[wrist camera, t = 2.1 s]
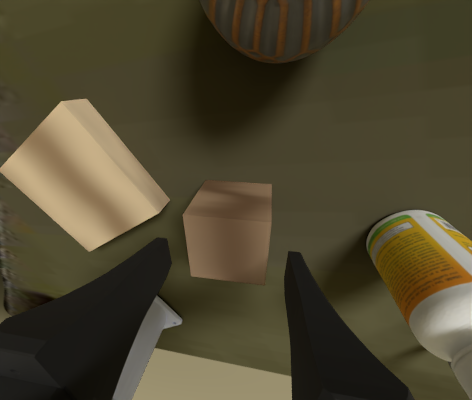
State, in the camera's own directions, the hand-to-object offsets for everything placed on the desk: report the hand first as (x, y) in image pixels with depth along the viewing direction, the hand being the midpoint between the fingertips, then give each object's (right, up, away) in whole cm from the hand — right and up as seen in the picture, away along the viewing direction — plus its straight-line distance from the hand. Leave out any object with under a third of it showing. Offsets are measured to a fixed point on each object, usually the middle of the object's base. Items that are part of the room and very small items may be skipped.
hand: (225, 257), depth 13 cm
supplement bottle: (+13, +1, +4) cm, 14 cm away
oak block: (-11, +5, +6) cm, 13 cm away
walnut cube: (+1, +3, +5) cm, 6 cm away
